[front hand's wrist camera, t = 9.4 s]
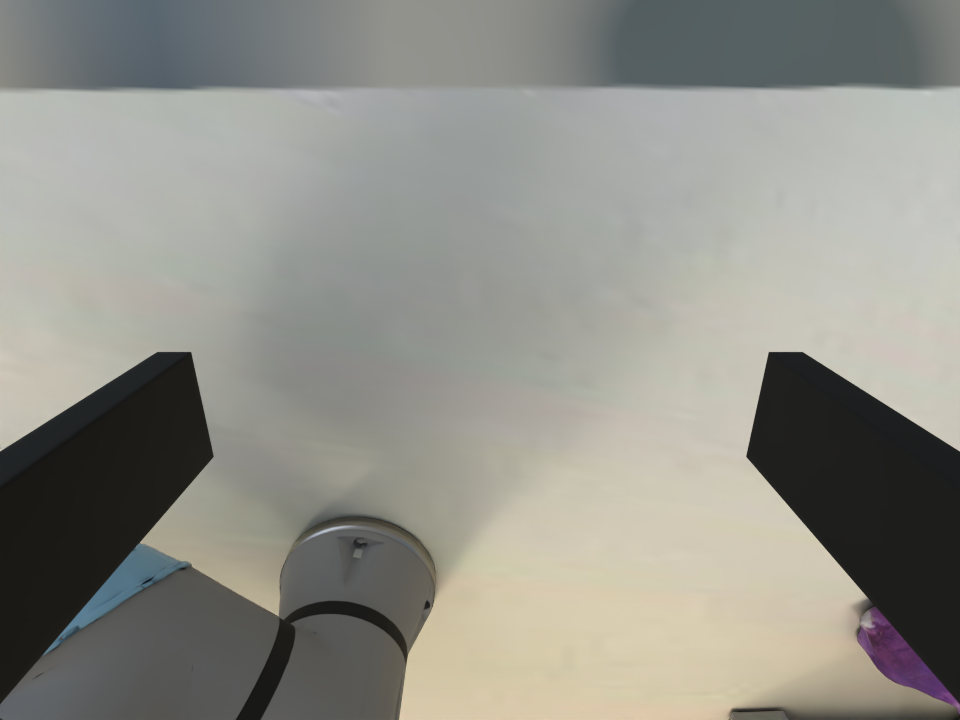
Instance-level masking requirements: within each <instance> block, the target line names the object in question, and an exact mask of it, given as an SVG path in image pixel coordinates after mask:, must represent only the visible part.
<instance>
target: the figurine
mask: <svg viewBox="0 0 960 720" xmlns="http://www.w3.org/2000/svg"><path fill="white" fill-rule="evenodd" d="M860 625H861V629H860V631H859V633H858V636H857V640H858V643H859V644H860V645H861V646H862V648H863V649H864V650H865V651H866V653H867V654H868V655H869V657H870V658H871V660H872V661H873V663H874V664H875V666H876V667H877V668H878V669H879V671H880V672H881V673H883V674H884V675H885V676H886V677H887V678H888V679H890V680H892V681H893V682H895V683H898V684H900V685H903V686H907V687H911V688H915V689H917V690H919V691H921V692H924V693H926V694H928V695H930V696H932V697H934V698H937V699H939V700H942V701H944V702H947V703H949V704H951V705H953V706H954V707H956V709H957V711H958V712H959V714H960V704H959V703H958V702H957V700H956V699H955V698H954V697H953V696H952V695H951V693H950V692H949V691H948V690H947V689H946V688H945V687H944V685H943V684H942V683H941V682H940V681H939V680H938V678H937V677H936V676H935V675H934V674H933V673H932V671H931V670H930V669H929V668H928V667H927V666H926V664H925V663H924V662H923V661H922V660H921V659H920V658H919V656H918V655H917V654H916V653H915V652H914V651H913V649H912V648H911V647H910V646H909V645H908V644H907V642H906V641H905V640H904V639H903V638H902V637H901V635H900V634H899V633H898V632H897V631H896V630H895V629H894V627H893V626H892V625H891V624H890V623H889V622H888V620H887V619H886V618H885V617H884V616H883V615H882V613H881V612H880V611H879V610H878V609H877V608H876V606H875V607H873V608H871V609H869V610H867V611H866V612H865V613H864V614H863V615H862V616H861V618H860Z"/></svg>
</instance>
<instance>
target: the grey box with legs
mask: <svg viewBox="0 0 960 720" xmlns="http://www.w3.org/2000/svg"><path fill="white" fill-rule="evenodd" d="M732 718H733V719H732ZM731 719H732V720H788V719H787V717H786V715H785V713H784V711H764V712H733V713H732V714H731V716H730V718H729V720H731ZM958 720H960V719H958Z"/></svg>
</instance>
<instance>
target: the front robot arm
mask: <svg viewBox="0 0 960 720" xmlns="http://www.w3.org/2000/svg"><path fill="white" fill-rule="evenodd" d="M213 457H214V456H213V451H212V446H211V442H210V437H209V433H208V428H207V423H206V419H205V414H204V409H203V405H202V400H201V396H200V391H199V386H198V382H197V377H196V373H195V368H194V363H193V359H192V354H191V352H157V353H155V354H154V355H152V356H150V357H149V358H147V359H146V360H144V361H143V362H141V363H139V364H138V365H136V366H135V367H133V368H132V369H130V370H128V371H127V372H125V373H124V374H122V375H120V376H119V377H117V378H116V379H114V380H113V381H111V382H109V383H108V384H106V385H105V386H103V387H102V388H100V389H98V390H97V391H95V392H94V393H92V394H90V395H89V396H87V397H86V398H84V399H83V400H81V401H79V402H78V403H76V404H75V405H73V406H72V407H70V408H68V409H67V410H65V411H64V412H62V413H60V414H59V415H57V416H56V417H54V418H53V419H51V420H49V421H48V422H46V423H45V424H43V425H42V426H40V427H38V428H37V429H35V430H34V431H32V432H30V433H29V434H27V435H26V436H24V437H23V438H21V439H19V440H18V441H16V442H15V443H13V444H12V445H10V446H8V447H7V448H5V449H4V450H2V451H0V720H399V715H400V708H401V700H402V693H403V685H404V678H405V670H406V663H407V657H408V653H409V651H410V650H411V648H412V646H413V644H414V642H415V640H416V638H417V636H418V634H419V633H420V631H421V629H422V627H423V625H424V623H425V621H426V620H427V617H428V616H429V614H430V612H431V609H432V607H433V603H434V596H435V586H436V574H435V568H434V565H433V562H432V560H431V558H430V556H429V554H428V553H427V551H426V550H425V548H424V547H423V546H422V545H421V544H420V543H419V542H418V541H417V540H416V539H415V538H414V537H413V536H411V535H410V534H409V533H407V532H406V531H404V530H403V529H401V528H399V527H397V526H395V525H392V524H390V523H387V522H384V521H381V520H377V519H372V518H365V517H344V518H337V519H333V520H329V521H326V522H323V523H321V524H319V525H316V526H314V527H313V528H311V529H309V530H308V531H307V532H305V533H304V534H303V535H302V536H301V537H300V538H299V539H298V540H297V541H296V542H295V544H294V545H293V547H292V548H291V550H290V552H289V554H288V557H287V559H286V561H285V563H284V565H283V568H282V571H281V575H280V606H279V617H278V616H277V615H275V614H273V613H271V612H269V611H268V610H266V609H264V608H262V607H260V606H259V605H257V604H255V603H253V602H252V601H250V600H248V599H246V598H244V597H243V596H241V595H239V594H237V593H235V592H234V591H232V590H230V589H229V588H227V587H225V586H223V585H222V584H220V583H218V582H217V581H215V580H213V579H211V578H210V577H208V576H206V575H205V574H203V573H201V572H199V571H198V570H196V569H194V568H193V567H192V564H190V563H189V562H186V561H182V562H181V561H179V560H176V559H174V558H172V557H170V556H168V555H166V554H164V553H162V552H160V551H158V550H156V549H154V548H152V547H150V546H147V545H144V544H139V543H140V542H141V540H142V539H143V538H144V537H145V536H146V535H147V533H148V532H149V531H150V530H151V529H152V528H153V526H154V525H155V524H156V523H157V522H158V521H159V520H160V518H161V517H162V516H163V515H164V514H165V513H166V511H167V510H168V509H169V508H170V507H171V506H172V504H173V503H174V502H175V501H176V500H177V499H178V497H179V496H180V495H181V494H182V493H183V492H184V491H185V489H186V488H187V487H188V486H189V485H190V484H191V482H192V481H193V480H194V479H195V478H196V477H197V475H198V474H199V473H200V472H201V471H202V470H203V468H204V467H205V466H206V465H207V464H208V463H209V462H210V460H211V459H212V458H213ZM746 457H747V458H748V459H749V460H750V462H751V463H752V464H753V465H754V466H755V467H756V468H757V470H758V471H759V472H760V473H761V474H762V475H763V477H764V478H765V479H766V480H767V481H768V482H769V484H770V485H771V486H772V487H773V488H774V489H775V491H776V492H777V493H778V494H779V495H780V496H781V497H782V499H783V500H784V501H785V502H786V503H787V504H788V506H789V507H790V508H791V509H792V510H793V511H794V513H795V514H796V515H797V516H798V517H799V518H800V520H801V521H802V522H803V523H804V524H805V525H806V526H807V528H808V529H809V530H810V531H811V532H812V533H813V535H814V536H815V537H816V538H817V539H818V540H819V542H820V543H821V544H822V545H823V546H824V547H825V549H826V550H827V551H828V552H829V553H830V554H831V555H832V557H833V558H834V559H835V560H836V561H837V562H838V564H839V565H840V566H841V567H842V568H843V569H844V571H845V572H846V573H847V574H848V575H849V576H850V577H851V579H852V580H853V581H854V582H855V583H856V584H857V586H858V587H859V588H860V589H861V590H862V591H863V593H864V594H865V595H866V596H867V597H868V598H869V600H870V601H871V602H872V603H873V604H874V605H875V606H876V608H877V609H878V610H879V611H880V612H881V613H882V615H883V616H884V617H885V618H886V619H887V620H888V622H889V623H890V624H891V625H892V626H893V627H894V629H895V630H896V631H897V632H898V633H899V634H900V635H901V637H902V638H903V639H904V640H905V641H906V642H907V644H908V645H909V646H910V647H911V648H912V649H913V651H914V652H915V653H916V654H917V655H918V656H919V658H920V659H921V660H922V661H923V662H924V663H925V664H926V666H927V667H928V668H929V669H930V670H931V671H932V673H933V674H934V675H935V676H936V677H937V678H938V680H939V681H940V682H941V683H942V684H943V685H944V687H945V688H946V689H947V690H948V691H949V692H950V693H951V695H952V696H953V697H954V698H955V699H956V700H957V702H958V703H959V704H960V451H958V450H956V449H955V448H953V447H952V446H950V445H948V444H947V443H945V442H944V441H942V440H941V439H939V438H937V437H936V436H934V435H933V434H931V433H930V432H928V431H926V430H925V429H923V428H922V427H920V426H918V425H917V424H915V423H914V422H912V421H911V420H909V419H907V418H906V417H904V416H903V415H901V414H900V413H898V412H896V411H895V410H893V409H892V408H890V407H888V406H887V405H885V404H884V403H882V402H881V401H879V400H877V399H876V398H874V397H873V396H871V395H870V394H868V393H866V392H865V391H863V390H862V389H860V388H858V387H857V386H855V385H854V384H852V383H851V382H849V381H847V380H846V379H844V378H843V377H841V376H840V375H838V374H836V373H835V372H833V371H832V370H830V369H828V368H827V367H825V366H824V365H822V364H821V363H819V362H817V361H816V360H814V359H813V358H811V357H810V356H808V355H806V354H805V353H803V352H769V354H768V359H767V363H766V368H765V373H764V377H763V382H762V386H761V391H760V396H759V400H758V405H757V409H756V414H755V419H754V423H753V428H752V433H751V437H750V442H749V446H748V451H747V456H746Z"/></svg>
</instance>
